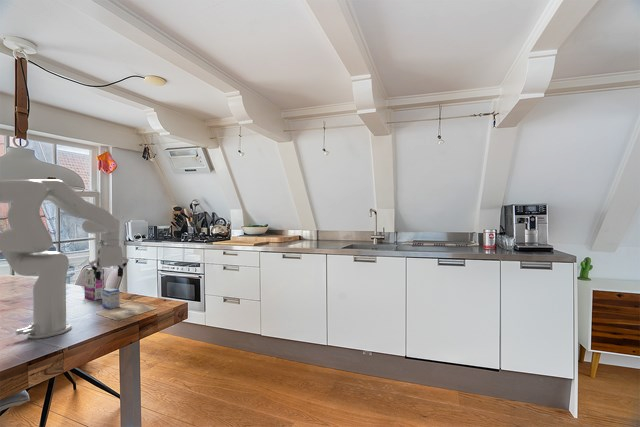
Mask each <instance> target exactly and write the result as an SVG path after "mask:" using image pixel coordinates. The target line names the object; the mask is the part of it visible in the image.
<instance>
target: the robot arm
mask: <svg viewBox="0 0 640 427" xmlns="http://www.w3.org/2000/svg"><path fill="white" fill-rule="evenodd" d="M44 201H49V202H51V203H52V204H54V205H55V206H56V207H57V208H58V209H60V210H61V211H63V212H64V213H65V214H67V216H70V217H74V218H77V219H83V220H84V221H83V222H82V225H81V228H82V230H83V231H84V232H86V234H91V235H92V234H95V235H97V234H98V235H100V240H99V241H97V245H100V246H98V250H97V253H96V259H93V260H92V261H89V262H88V265H89V268H91V269H93V270H94V271H95V278H96V280H100V279H101V272H100V270H101V269H103V268H110V267H111V268H112V267H117V277H119V278H122V277H123V275H124V268H125V267H126V266H127V265H128V263H129V258H127V257H124V255H123V248H122V245H120V219H118V218H116V217H115V216H114V215H113V214H112V213H110V212H109V210H107V209H105V208H103V207H101V206H98V205H97V204H94V203H91V202H89V201H87V200H85V199H84V198H83V197H82V196H81V195H80V194H79V193H77V192H76V191H75V190H74V189H73V188H72V187H71V186H69V184H68V183H66V182H65V181H63V180H61V179H54V178H53V179H49V178H48V179H45V178H44V179H43V178H42V179H1V180H0V203H3V204H11V205H10V207H9V210H8V212H7V217H6V218H7V219H6V220H7V222H8V225H9V226H10V228H8V229H5V230H4V231H2V232H1V233H0V253H1V254H2V256H3V257H4V259H5V260H6V262H7V264H8V265H9V266H10V267H11V269H12V270H13V271H14V272H15V273H16V274H18V275H19V276H22V277H23V276H24V277H38V278H37V279H36V281H35V282H34V284H33V288H32V306H33V307H32V311H33V312H32V313H33V314H32V315H33V321H32V322H31V323H30V325H29V326H27V327H24V328H19V329H16V330H15V335H16V336H20V335H27V338H30V339H34V340H35V339H44V338H49V337H55V336H58V335H62V334H64V333H66V332H68V331H70V330H71V329H72V324H71V323H67V291H66V290H67V287H66V286H67V274H68V270H69V266H70V261H69V257H68V256H67V255H66V253H63V252H60V251H53V250H52V251H50V249H51V248H52V246H53V244H54V242H53V239H52V235H51V234H50V232H49V230H48V229H47V226H46V225H45V222H44V220H43V218H42V217H41V214H40V210H41V207H42V204H43V202H44ZM95 264H96V266H95Z"/></svg>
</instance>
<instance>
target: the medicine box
mask: <svg viewBox="0 0 640 427" xmlns="http://www.w3.org/2000/svg"><path fill="white" fill-rule="evenodd" d="M120 293H121V292H120V289H117V288H114V287H109V288H104V289H103V290H102V299H101V300H102V305H101V306H102V307H103V308H105V307H106V309H108V310H112V308H113V309H116V307H117V308H120V307H121V302H120V301H121V300H120Z"/></svg>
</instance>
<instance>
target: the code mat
mask: <svg viewBox="0 0 640 427" xmlns="http://www.w3.org/2000/svg"><path fill="white" fill-rule="evenodd" d="M154 310H158V308H157V307H155V306H154V307H153V306H151V305H150V306H149V305H146V304H141V303H138V302H135V303H131V304H128V305H123V306H119V307H117V308H113V309H108V310H105V311H101V312H97V313H96V315H98V316H101V317H104V318H106V319H110V320H112V319H113V321H115V320H116V322H118V321H122V320H124V319H128V318H131V317H134V316H138V315H142V314H145V313H149V312H151V311H154Z"/></svg>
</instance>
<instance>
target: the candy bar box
mask: <svg viewBox="0 0 640 427" xmlns="http://www.w3.org/2000/svg"><path fill="white" fill-rule="evenodd" d="M100 272H101V279H100V280H96V278H95V271H94V270H93V269H91V267H86V268H84V277H83V278H84V299H86V300H90V301H95V302H96V301H98V300H99V301H100V300H102V290H103V289H105V288H104V287H105V278H104V277H105V273H104V272H105V271H104V268H101V270H100Z"/></svg>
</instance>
